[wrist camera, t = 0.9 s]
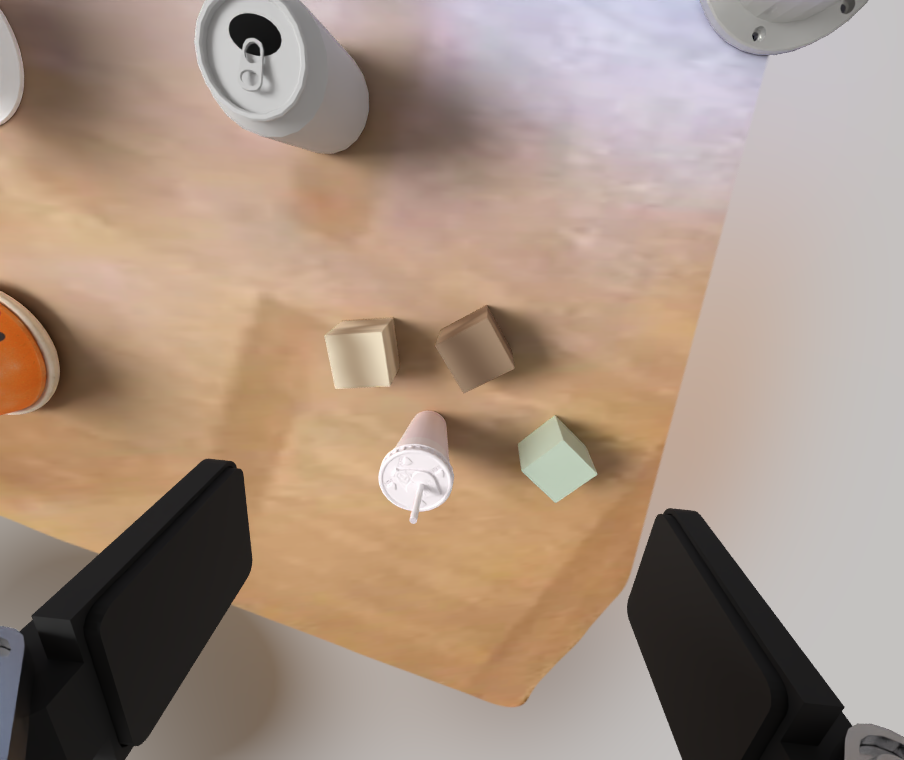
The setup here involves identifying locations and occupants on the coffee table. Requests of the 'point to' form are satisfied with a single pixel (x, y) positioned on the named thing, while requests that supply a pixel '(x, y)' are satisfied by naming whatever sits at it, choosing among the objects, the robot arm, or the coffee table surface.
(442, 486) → the smoothie
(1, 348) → the stacking toy
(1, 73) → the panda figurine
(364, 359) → the maple cube
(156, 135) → the coffee table surface
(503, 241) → the coffee table surface
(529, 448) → the sage painted cube
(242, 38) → the can
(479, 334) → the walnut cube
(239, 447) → the coffee table surface
